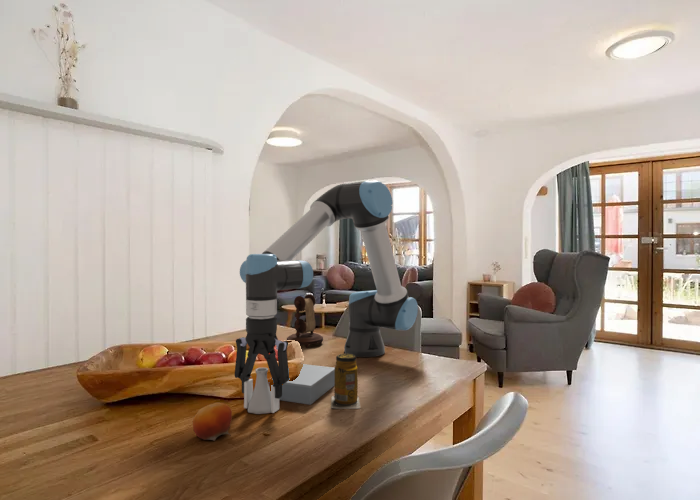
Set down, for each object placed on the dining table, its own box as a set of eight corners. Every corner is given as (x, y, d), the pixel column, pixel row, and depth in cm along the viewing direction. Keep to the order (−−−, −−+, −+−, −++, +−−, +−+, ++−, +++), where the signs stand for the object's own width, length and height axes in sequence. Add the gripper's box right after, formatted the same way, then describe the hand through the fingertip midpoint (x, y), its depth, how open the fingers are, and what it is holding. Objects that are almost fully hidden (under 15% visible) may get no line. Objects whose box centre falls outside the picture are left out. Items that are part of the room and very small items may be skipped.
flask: (279, 404, 110) (279, 365, 110) (272, 415, 103) (272, 374, 102) (252, 403, 111) (252, 364, 110) (242, 414, 103) (242, 373, 103)
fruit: (216, 442, 86) (202, 404, 88) (194, 454, 90) (181, 417, 92) (246, 427, 93) (232, 392, 95) (224, 439, 96) (212, 405, 98)
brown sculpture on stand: (308, 350, 165) (308, 298, 164) (279, 345, 172) (278, 295, 172) (330, 342, 177) (330, 294, 177) (301, 338, 185) (301, 292, 185)
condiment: (358, 396, 115) (358, 352, 115) (360, 409, 107) (360, 361, 107) (331, 397, 115) (331, 352, 115) (331, 409, 107) (331, 361, 106)
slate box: (297, 379, 129) (297, 363, 129) (336, 384, 125) (336, 367, 125) (268, 398, 114) (268, 380, 114) (311, 405, 109) (311, 385, 109)
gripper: (218, 316, 106) (218, 408, 107) (289, 321, 99) (289, 420, 99) (236, 311, 113) (237, 398, 114) (304, 316, 106) (304, 408, 106)
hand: (261, 408), depth 107 cm, fingers closed on flask, 7 cm apart
